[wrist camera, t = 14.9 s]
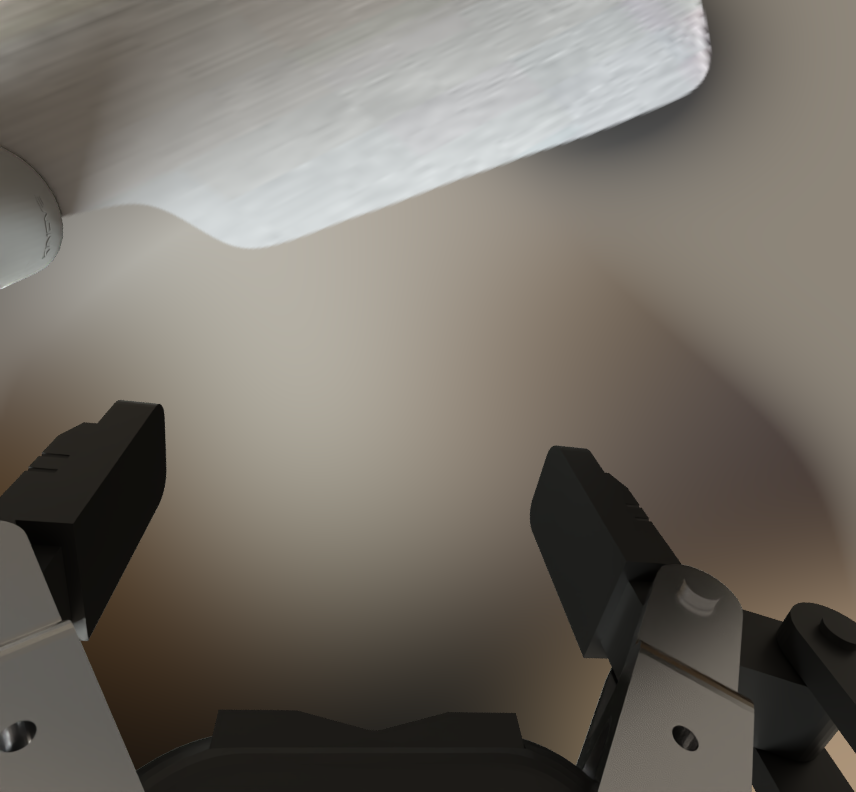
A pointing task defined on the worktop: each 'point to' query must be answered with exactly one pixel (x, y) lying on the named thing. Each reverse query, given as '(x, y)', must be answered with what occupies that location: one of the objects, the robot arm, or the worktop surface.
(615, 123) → the worktop surface
